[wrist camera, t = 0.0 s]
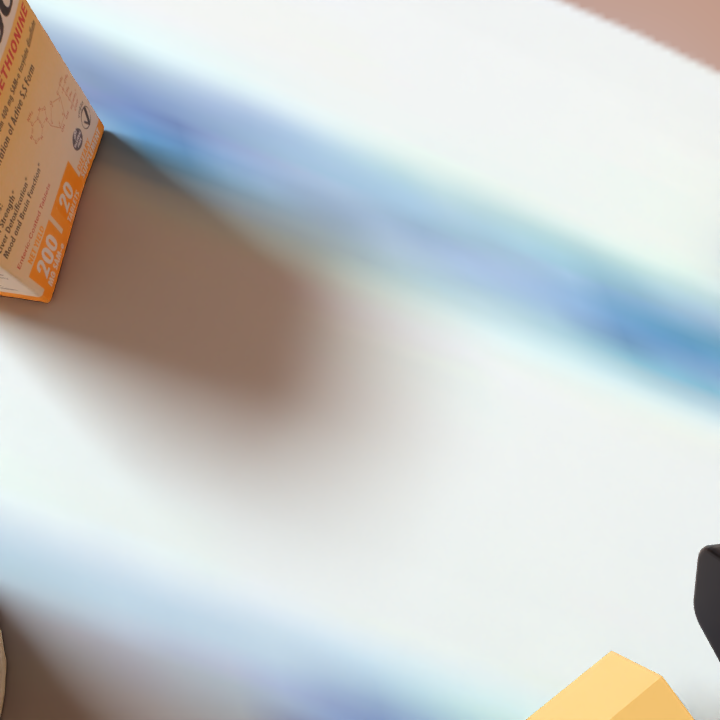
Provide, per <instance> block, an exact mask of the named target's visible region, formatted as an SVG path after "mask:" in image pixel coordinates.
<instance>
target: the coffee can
mask: <svg viewBox="0 0 720 720" xmlns="http://www.w3.org/2000/svg"><path fill="white" fill-rule="evenodd" d="M6 666H7V663H6V656H5V652H4V645H3V639H2V632H1V629H0V716H1V712H2V707H3V701H4V695H5V678H6Z"/></svg>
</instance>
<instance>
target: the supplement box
mask: <svg viewBox="0 0 720 720" xmlns="http://www.w3.org/2000/svg"><path fill="white" fill-rule="evenodd" d="M103 131H104V126H103V124H102V122H101V121H100V119H99V118H98V116H97V115H96V113H95V111H94V109H93V108H92V106H91V105H90V103H89V101H88V99H87V98H86V97H85V95H84V93H83V91H82V90H81V88H80V87H79V85H78V84H77V82H76V81H75V79H74V78H73V76H72V74H71V73H70V71H69V69H68V67H67V66H66V64H65V63H64V61H63V59H62V58H61V56H60V54H59V53H58V51H57V50H56V48H55V46H54V45H53V43H52V41H51V40H50V38H49V36H48V34H47V33H46V31H45V30H44V28H43V27H42V25H41V24H40V22H39V20H38V19H37V17H36V15H35V14H34V12H33V11H32V9H31V7H30V6H29V4H28V2H27V1H26V0H0V295H1V296H7V297H15V298H22V299H27V300H34V301H41V302H45V303H49V302H50V301H51V298H52V295H53V292H54V289H55V284H56V282H57V277H58V274H59V272H60V267H61V264H62V260H63V257H64V254H65V250H66V246H67V243H68V239H69V236H70V232H71V229H72V225H73V221H74V219H75V214H76V210H77V207H78V204H79V200H80V197H81V193H82V191H83V188H84V185H85V182H86V179H87V177H88V174H89V171H90V168H91V166H92V162H93V160H94V158H95V155H96V152H97V149H98V146H99V144H100V140H101V137H102V135H103Z"/></svg>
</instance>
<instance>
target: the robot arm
mask: <svg viewBox="0 0 720 720" xmlns="http://www.w3.org/2000/svg"><path fill="white" fill-rule="evenodd" d="M694 610H695V614H696V617H697V620H698V622H699V625H700V627H701V628H702V630H703V632H704V634H705V636H706V638H707V639H708V641H709V643H710V645H711V647H712V648H713V650H714V652H715V654H716V656H717V658H718V659H719V661H720V544H716V545H708V546H705V547H704V548H702V549H701V551H700V553H699V556H698V562H697V572H696V582H695V592H694Z"/></svg>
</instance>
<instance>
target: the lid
mask: <svg viewBox="0 0 720 720" xmlns="http://www.w3.org/2000/svg"><path fill="white" fill-rule="evenodd" d="M526 720H694V719H693V717H692V716H691V715H690V713H689V712H688V711H687V709H686V708H685V706H684V705H683V704H682V702H681V701H680V700H679V698H678V697H677V696H676V694H675V693H674V692H673V690H672V689H671V688H670V686H669V685H668V683H667V682H666V681H665V679H664V678H663V677H662V676H661V675H659V674H657V673H655V672H653V671H651V670H649V669H647V668H645V667H643V666H641V665H639V664H637V663H635V662H633V661H631V660H629V659H627V658H625V657H623V656H621V655H619V654H617V653H615V652H613V651H610V652H609V653H608V654H607V655H605V656H604V657H603V658H602V659H600V660H599V661H598V662H597V663H596V664H594V665H593V666H592V667H591V668H589V669H588V670H587V671H586V672H584V673H583V674H582V675H581V676H579V677H578V678H577V679H576V680H575V681H573V682H572V683H571V684H570V685H568V686H567V687H566V688H565V689H563V690H562V691H561V692H560V693H558V694H557V695H556V696H555V697H554V698H552V699H551V700H550V701H549V702H547V703H546V704H545V705H544V706H542V707H541V708H540V709H539V710H537V711H536V712H535V713H534V714H533V715H531V716H530V717H529V718H528V719H526Z"/></svg>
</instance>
